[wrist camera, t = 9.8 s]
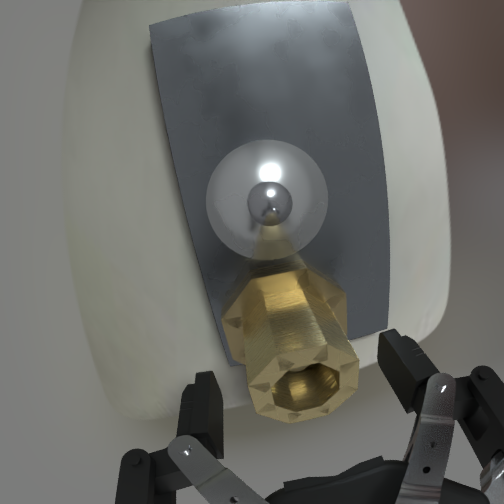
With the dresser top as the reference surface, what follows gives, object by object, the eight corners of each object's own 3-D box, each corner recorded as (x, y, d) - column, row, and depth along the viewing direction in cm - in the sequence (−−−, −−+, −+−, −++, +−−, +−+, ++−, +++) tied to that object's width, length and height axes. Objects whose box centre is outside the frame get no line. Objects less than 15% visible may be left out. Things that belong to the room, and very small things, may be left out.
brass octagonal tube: (212, 277, 16) (205, 345, 10) (336, 252, 16) (385, 304, 10) (239, 370, 18) (243, 442, 13) (341, 347, 18) (373, 412, 13)
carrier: (154, 33, 12) (125, -7, 7) (341, 9, 12) (377, -28, 7) (229, 355, 19) (231, 411, 14) (380, 319, 19) (414, 363, 14)
